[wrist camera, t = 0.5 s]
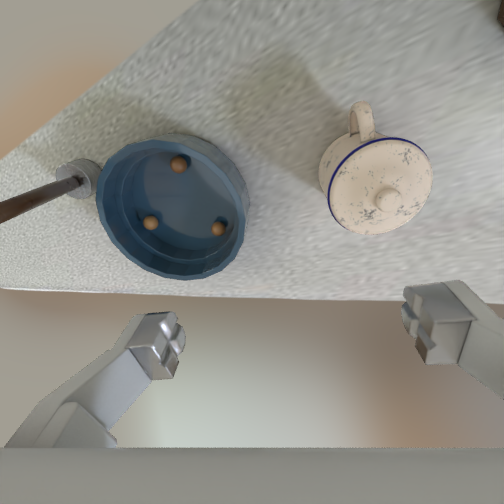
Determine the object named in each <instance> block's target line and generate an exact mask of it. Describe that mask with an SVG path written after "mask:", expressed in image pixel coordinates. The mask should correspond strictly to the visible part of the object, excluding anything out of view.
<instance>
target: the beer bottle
mask: <svg viewBox="0 0 504 504" xmlns="http://www.w3.org/2000/svg"><path fill="white" fill-rule="evenodd" d="M497 19H498V20H499V21H500V23H501V24H502V25H503V27H504V0H502V3H501V7H500V11H499V14H498V18H497Z"/></svg>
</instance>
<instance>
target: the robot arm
mask: <svg viewBox="0 0 504 504" xmlns="http://www.w3.org/2000/svg"><path fill="white" fill-rule="evenodd" d="M403 296H404V298H405V300H406V302H405V303H404V304H403V305H402V311H401V314H402V320H403V324H404V326H405V329H406V330H407V332H408V334H409V335H410V336H412V337H414V338H415V339H416V343H415V347H416V349H417V350H418V352H419V354H420V356H421V357H422V359H423V361H424V363H425V364H426V365H437V364H438V365H439V364H458V366H459V367H460V368H462V369H463V370H465V371H466V372H467V373H468V374H470V375H471V376H472V377H474V378H475V379H477V380H478V381H479V382H481V383H482V384H483V385H485V386H486V387H487V388H489V389H490V390H491V391H493V392H494V393H495V394H497V395H498V396H499V397H501V398H502V399H503V400H504V318H500V317H499V316H498V315H497V314H496V313H495V312H493V311H492V309H491V308H489V307H488V306H487V305H486V304H485V303H484V302H483V301H482V300H481V299H480V298H479V297H478V296H477V295H476V294H475V293H474V292H473V291H472V290H471V289H470V288H469V287H468V286H467V285H466V284H465V283H464V282H463V281H460V280H454V281H445V282H440V283H430V284H421V285H413V286H406V287H405V289H404V292H403ZM177 320H178V318H177V316H176V314H175V313H174V312H159V313H148V314H137V315H135V316H133V317H132V319H131V320H130V322H129V323H128V325H127V327H126V328H125V330H124V331H123V333H122V334H121V336H120V337H119V339H118V340H117V342H116V343H115V345H114V347H113V348H112V349H111V350H107V351H106V352H105V353H104V354H102V355H101V356H99V357H98V358H96V359H95V360H94V361H93V362H91V363H90V364H89V365H87V366H86V367H85V368H83V369H82V370H81V371H79V372H78V373H77V374H75V375H74V376H73V377H71V378H70V379H69V380H67V381H66V382H65V383H63V384H62V385H61V386H59V387H58V388H57V389H56V390H54V391H53V392H52V393H50V394H49V395H48V396H46V397H45V398H44V399H42V400H41V401H40V402H39V403H38V404H37V405H36V406H35V408H34V409H33V410H32V412H31V413H30V414H29V416H28V417H27V418H26V420H25V421H24V422H23V423H22V425H21V426H20V427H19V428H18V430H17V431H16V432H15V434H14V435H13V436H12V437H11V439H10V440H9V441H8V443H7V444H6V445H5V446H4V448H0V504H504V448H116V445H117V440H116V438H115V437H114V436H113V435H111V434H110V433H109V432H108V431H109V430H110V429H111V428H112V426H113V425H114V424H115V423H116V422H117V421H118V420H119V418H120V417H121V416H122V415H123V414H124V413H125V412H126V410H127V409H128V408H129V407H130V406H131V405H132V404H133V402H134V401H135V400H136V399H137V398H138V397H139V396H140V394H141V393H142V392H143V391H144V390H145V389H146V388H147V386H148V385H149V384H150V383H151V380H162V379H172V378H173V377H174V374H175V371H176V369H177V366H178V363H179V361H178V358H177V356H178V355H179V354H180V353H181V352H183V349H184V346H185V339H186V336H185V332H184V329H183V327H182V326H180V325H179V324H178V323H176V322H177Z"/></svg>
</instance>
